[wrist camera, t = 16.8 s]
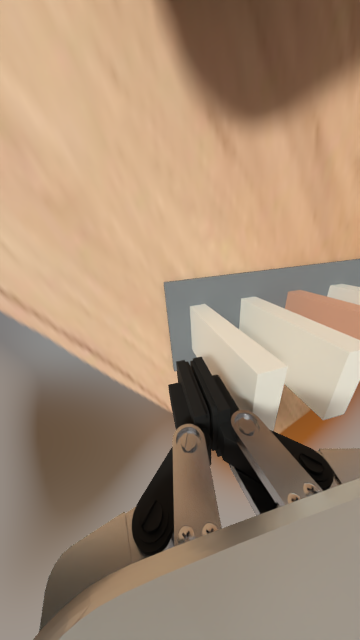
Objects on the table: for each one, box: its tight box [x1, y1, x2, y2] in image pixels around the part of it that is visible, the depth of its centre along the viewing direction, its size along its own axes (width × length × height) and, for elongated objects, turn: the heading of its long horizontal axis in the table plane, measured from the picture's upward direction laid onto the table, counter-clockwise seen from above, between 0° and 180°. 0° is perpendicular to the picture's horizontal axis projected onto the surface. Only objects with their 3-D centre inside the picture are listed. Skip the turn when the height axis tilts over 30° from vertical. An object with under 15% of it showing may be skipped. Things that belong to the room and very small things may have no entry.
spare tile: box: [285, 290, 360, 340], centre depth 15 cm, size 2×5×10 cm, turn 4°
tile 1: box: [190, 304, 288, 431], centre depth 13 cm, size 2×5×10 cm, turn 4°
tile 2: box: [239, 297, 360, 420], centre depth 14 cm, size 2×5×10 cm, turn 4°
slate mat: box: [164, 259, 360, 371], centre depth 20 cm, size 28×10×1 cm, turn 94°
